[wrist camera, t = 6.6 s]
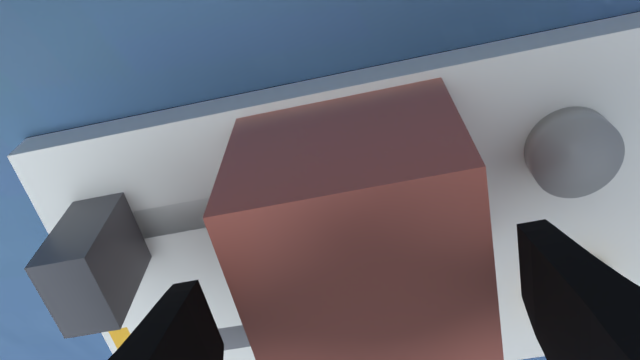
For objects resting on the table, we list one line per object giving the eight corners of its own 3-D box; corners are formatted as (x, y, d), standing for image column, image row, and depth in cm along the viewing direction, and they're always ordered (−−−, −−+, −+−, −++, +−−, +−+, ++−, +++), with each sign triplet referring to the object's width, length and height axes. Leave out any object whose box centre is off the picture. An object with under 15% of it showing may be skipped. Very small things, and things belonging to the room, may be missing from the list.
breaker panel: (645, 10, 16) (747, 62, 12) (631, 316, 21) (699, 420, 17) (25, 138, 18) (-57, 217, 14) (152, 388, 23) (118, 496, 19)
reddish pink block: (441, 77, 16) (485, 166, 11) (462, 247, 18) (504, 373, 14) (236, 118, 16) (202, 218, 12) (285, 277, 19) (273, 406, 14)
